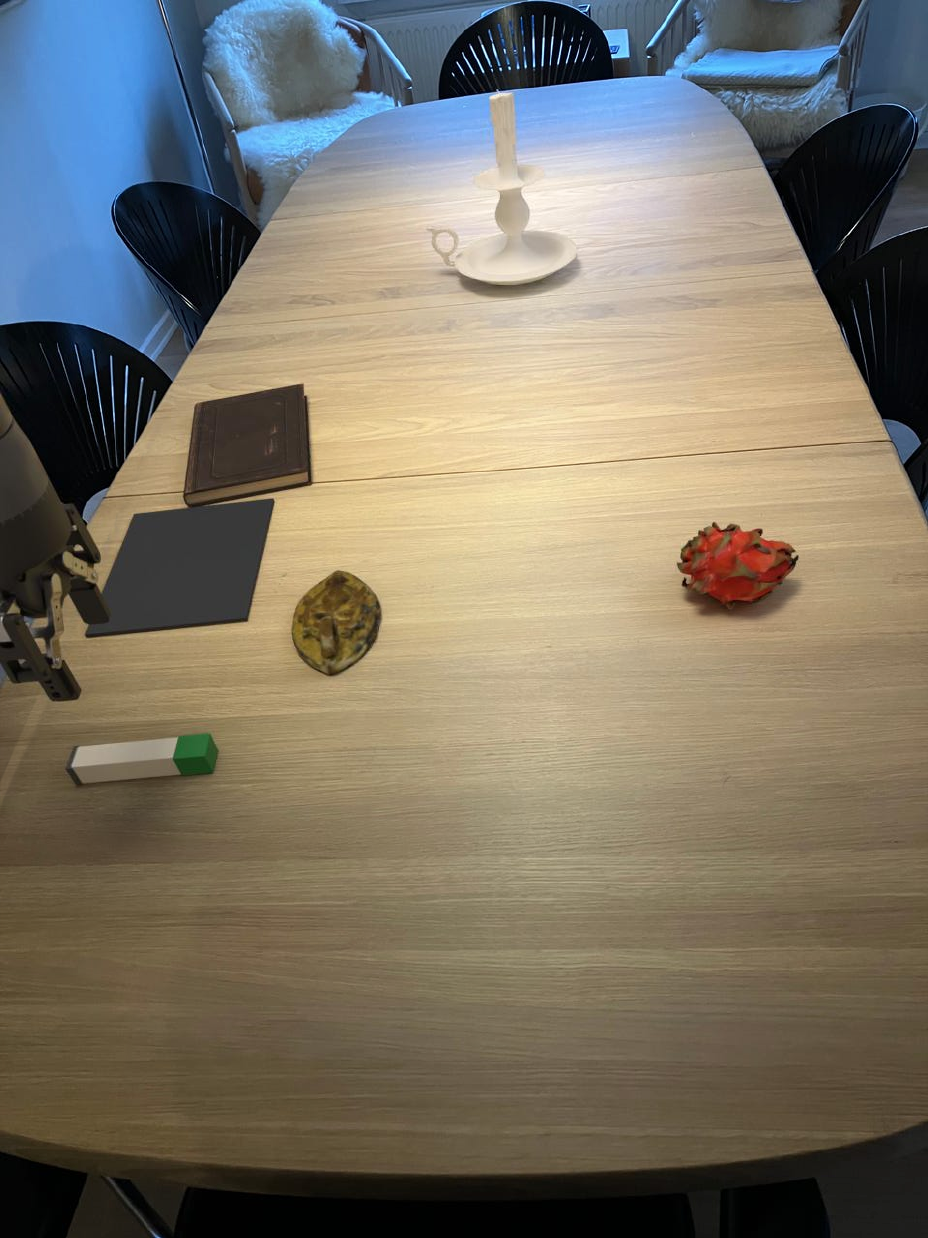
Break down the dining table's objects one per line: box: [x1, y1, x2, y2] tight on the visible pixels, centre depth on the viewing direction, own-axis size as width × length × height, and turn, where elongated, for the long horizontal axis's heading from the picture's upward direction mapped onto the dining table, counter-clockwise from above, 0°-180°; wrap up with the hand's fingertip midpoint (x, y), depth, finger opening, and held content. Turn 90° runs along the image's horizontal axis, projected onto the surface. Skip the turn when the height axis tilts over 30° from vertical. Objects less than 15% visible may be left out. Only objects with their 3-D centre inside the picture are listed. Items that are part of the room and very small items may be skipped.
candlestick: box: [426, 89, 579, 286], centre depth 147 cm, size 21×25×28 cm
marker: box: [64, 732, 219, 786], centre depth 85 cm, size 13×3×2 cm, turn 91°
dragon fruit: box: [675, 521, 800, 610], centre depth 91 cm, size 8×8×12 cm
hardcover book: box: [182, 382, 313, 508], centre depth 124 cm, size 16×23×2 cm
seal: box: [291, 569, 382, 675], centre depth 96 cm, size 9×5×15 cm
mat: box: [84, 497, 275, 638], centre depth 108 cm, size 18×22×1 cm
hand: (84, 657), depth 74 cm, fingers open, 8 cm apart
